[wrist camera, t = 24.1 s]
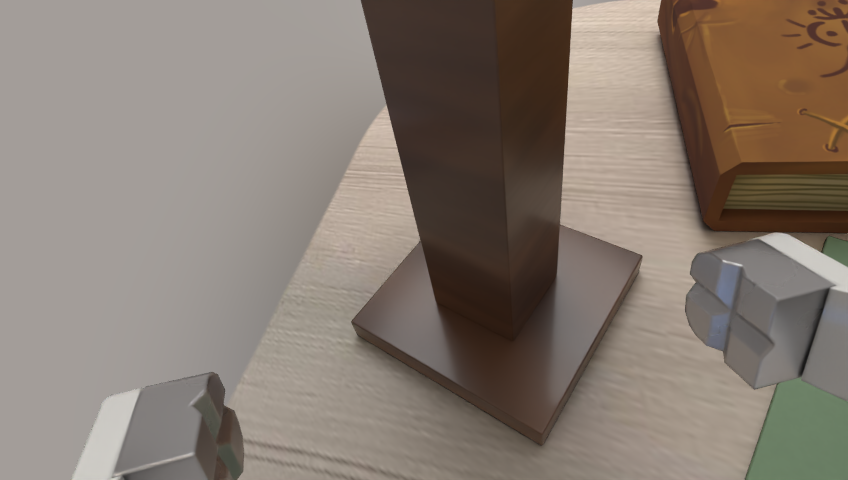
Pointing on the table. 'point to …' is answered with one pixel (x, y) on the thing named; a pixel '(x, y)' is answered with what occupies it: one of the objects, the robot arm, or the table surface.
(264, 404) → the table surface
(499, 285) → the stand
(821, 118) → the diary
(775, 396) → the mat
